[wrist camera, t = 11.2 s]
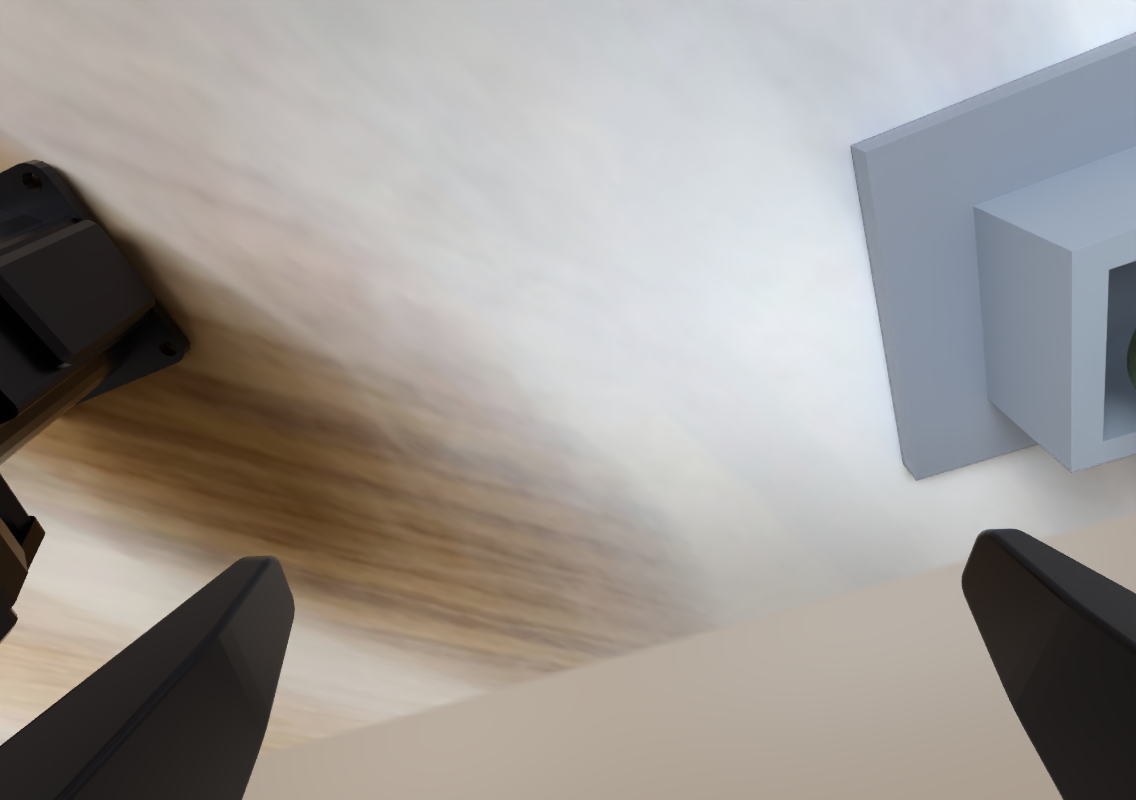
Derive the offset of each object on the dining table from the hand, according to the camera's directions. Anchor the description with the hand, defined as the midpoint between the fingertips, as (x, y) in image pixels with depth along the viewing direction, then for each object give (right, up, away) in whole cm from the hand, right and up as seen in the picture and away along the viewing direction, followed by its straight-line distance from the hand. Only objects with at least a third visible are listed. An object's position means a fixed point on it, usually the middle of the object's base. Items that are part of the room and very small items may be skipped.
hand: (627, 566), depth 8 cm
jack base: (+15, +6, +12) cm, 20 cm away
